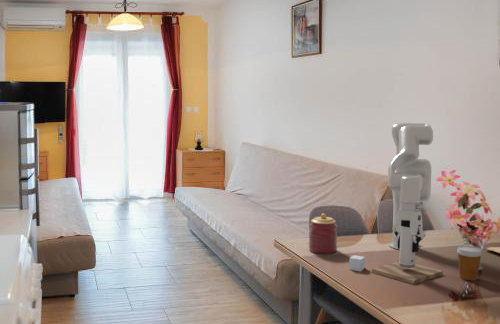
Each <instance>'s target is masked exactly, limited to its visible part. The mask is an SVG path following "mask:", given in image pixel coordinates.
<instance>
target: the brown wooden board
mask: <svg viewBox="0 0 500 324" xmlns="http://www.w3.org/2000/svg"><path fill="white" fill-rule="evenodd" d="M371 273H374V274H376V275H380V276H383V277H387V278H390V279H393V280H397V281H399V282H404V283H407V284H410V285H417V284H419V283H423V282H424V281H425V282H426V281H428V280H431V279H433V278H436V277H440V276H442V275H443V274H444V273H443V270H440V269H437V268H434V267H428V266H426V265H422V264H418V263H415V267H413V268H405V267H401V266H400V265H399V260H397V261H395V262H391V263H388V264H383V265H380V266H377V267H372V268H371Z"/></svg>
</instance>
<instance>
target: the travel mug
mask: <svg viewBox="0 0 500 324" xmlns="http://www.w3.org/2000/svg"><path fill="white" fill-rule="evenodd" d="M412 243H414V241H413V236H412V235H411V231H410V221H404V220H401V229H400V249H399V256H398V258H399V260H398V261H399V265H400V266H401V267H405V268H413V267H415V264H416V254H417V252H412Z"/></svg>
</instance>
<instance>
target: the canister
mask: <svg viewBox="0 0 500 324" xmlns="http://www.w3.org/2000/svg"><path fill="white" fill-rule="evenodd" d="M308 226H309V228H310V231H309V232H308V233H309V242H308V243H309V244H308V248H309V252H311V253H313V254H318V255H319V254H321V255H326V254H327V255H328V254H329V255H330V254H334V253H336V252H337V249H338V245H337V244H338V243H337V242H338V232H337V228H338V225H337V224H336V220H335V219H334V218H333V217H329V216H327V214H326V213H321V215H320V216H315V217H314V218H312V219H311V223H310V224H309V225H308Z"/></svg>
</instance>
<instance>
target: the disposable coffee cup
mask: <svg viewBox="0 0 500 324" xmlns="http://www.w3.org/2000/svg"><path fill="white" fill-rule="evenodd" d="M456 253H457V255H458V256H457V257H458V271H459V278H460V279H462V280H465V281H476V280H477V279H478V274H479V273H478V272H479V268H480V263H481V258H482V255H483V251H482V249H481V248H480V247H477V246H473V247H472V246H471V245H461V246H458V248H457V250H456Z"/></svg>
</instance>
